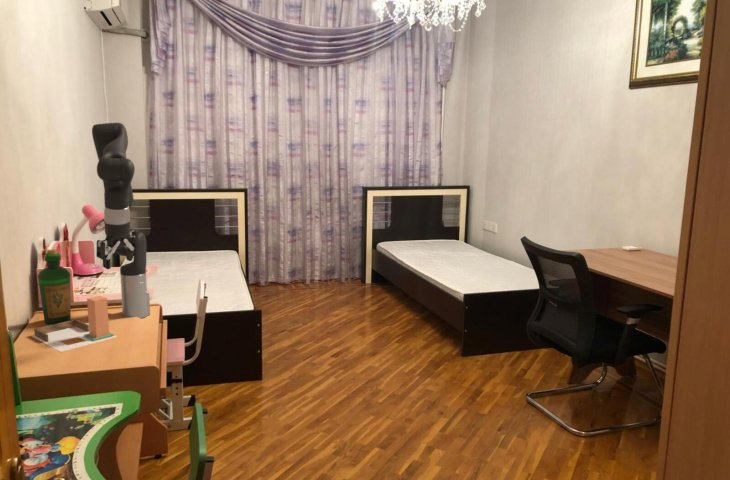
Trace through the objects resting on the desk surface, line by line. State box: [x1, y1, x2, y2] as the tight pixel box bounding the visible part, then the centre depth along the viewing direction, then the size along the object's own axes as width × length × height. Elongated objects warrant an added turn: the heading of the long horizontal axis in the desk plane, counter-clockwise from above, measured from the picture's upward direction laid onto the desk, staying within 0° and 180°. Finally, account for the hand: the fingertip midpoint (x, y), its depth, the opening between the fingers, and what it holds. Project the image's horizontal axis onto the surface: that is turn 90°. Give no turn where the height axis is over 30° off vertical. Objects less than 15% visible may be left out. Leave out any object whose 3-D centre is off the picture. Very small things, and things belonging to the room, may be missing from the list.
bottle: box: [37, 248, 72, 326], centre depth 209 cm, size 11×11×28 cm
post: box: [86, 295, 110, 338], centre depth 195 cm, size 4×4×13 cm
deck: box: [31, 322, 118, 353], centre depth 196 cm, size 19×22×1 cm
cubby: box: [33, 319, 89, 342], centre depth 198 cm, size 14×9×2 cm, turn 141°
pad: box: [84, 331, 115, 341], centre depth 196 cm, size 7×7×1 cm
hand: (118, 264), depth 188 cm, fingers open, 8 cm apart
